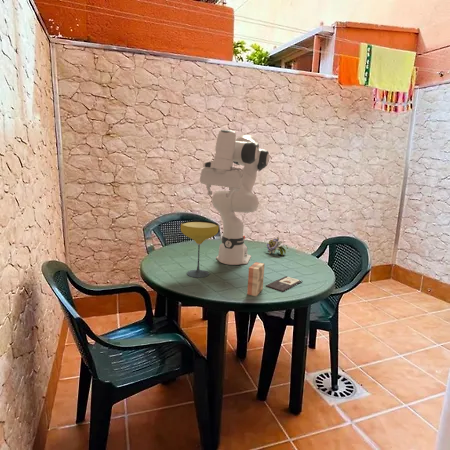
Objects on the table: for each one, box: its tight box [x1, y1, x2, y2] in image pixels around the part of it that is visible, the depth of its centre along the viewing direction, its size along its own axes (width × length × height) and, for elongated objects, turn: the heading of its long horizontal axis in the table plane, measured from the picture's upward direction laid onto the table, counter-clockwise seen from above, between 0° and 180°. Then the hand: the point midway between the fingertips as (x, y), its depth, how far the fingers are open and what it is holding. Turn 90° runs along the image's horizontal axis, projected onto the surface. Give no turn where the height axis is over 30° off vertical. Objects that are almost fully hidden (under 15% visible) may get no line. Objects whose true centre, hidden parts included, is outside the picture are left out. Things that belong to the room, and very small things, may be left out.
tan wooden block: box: [246, 261, 265, 297], centre depth 148 cm, size 9×4×12 cm, turn 156°
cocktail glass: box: [180, 219, 220, 279], centre depth 166 cm, size 18×18×25 cm
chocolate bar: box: [265, 275, 302, 293], centre depth 160 cm, size 9×1×18 cm
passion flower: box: [264, 237, 289, 256], centre depth 210 cm, size 11×11×12 cm
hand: (218, 196), depth 157 cm, fingers open, 8 cm apart
